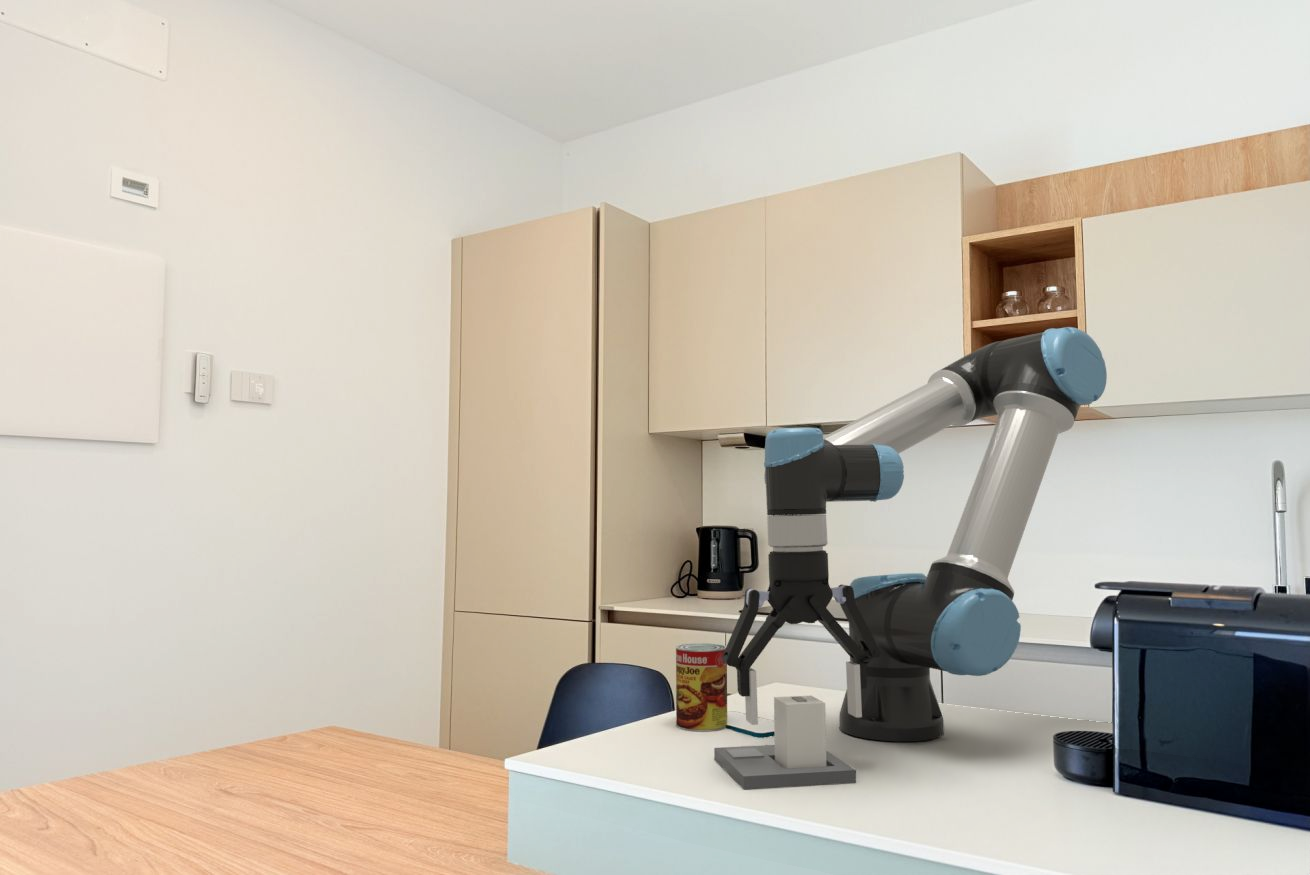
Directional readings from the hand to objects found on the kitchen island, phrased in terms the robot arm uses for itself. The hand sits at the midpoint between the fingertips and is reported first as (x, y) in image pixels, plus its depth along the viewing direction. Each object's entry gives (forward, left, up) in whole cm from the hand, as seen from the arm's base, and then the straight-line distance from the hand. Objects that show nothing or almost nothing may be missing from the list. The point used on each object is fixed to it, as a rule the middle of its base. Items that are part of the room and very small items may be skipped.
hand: (804, 719), depth 118 cm
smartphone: (0, -28, -7) cm, 28 cm away
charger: (+1, 0, -7) cm, 7 cm away
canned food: (+6, -28, -7) cm, 30 cm away
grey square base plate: (+3, -1, -7) cm, 7 cm away
